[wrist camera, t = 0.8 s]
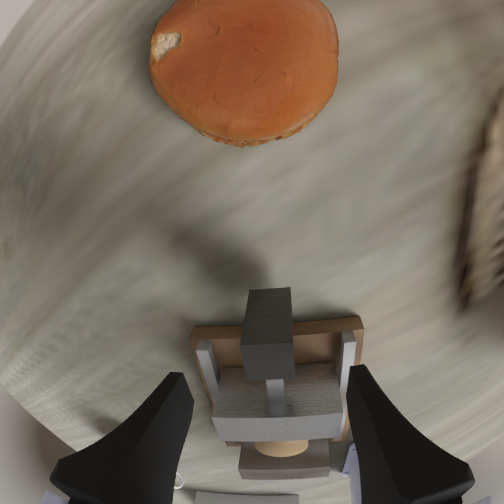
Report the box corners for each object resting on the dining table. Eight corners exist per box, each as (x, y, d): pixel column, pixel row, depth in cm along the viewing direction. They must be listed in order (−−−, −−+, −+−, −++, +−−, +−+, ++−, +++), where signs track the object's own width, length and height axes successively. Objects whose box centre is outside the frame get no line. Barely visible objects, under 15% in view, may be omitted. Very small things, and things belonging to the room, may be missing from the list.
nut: (306, 418, 23) (307, 455, 19) (260, 420, 23) (257, 457, 20) (306, 390, 21) (308, 431, 18) (255, 393, 22) (251, 433, 18)
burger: (349, 125, 15) (373, 123, 11) (193, 161, 17) (165, 171, 13) (303, -19, 12) (309, -58, 7) (156, 20, 13) (121, -4, 9)
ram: (332, 388, 21) (339, 441, 16) (229, 393, 22) (219, 445, 17) (337, 283, 17) (355, 336, 12) (204, 292, 18) (181, 345, 13)
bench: (343, 429, 26) (349, 473, 21) (228, 435, 27) (221, 477, 22) (359, 316, 20) (378, 370, 15) (194, 326, 21) (173, 379, 16)
